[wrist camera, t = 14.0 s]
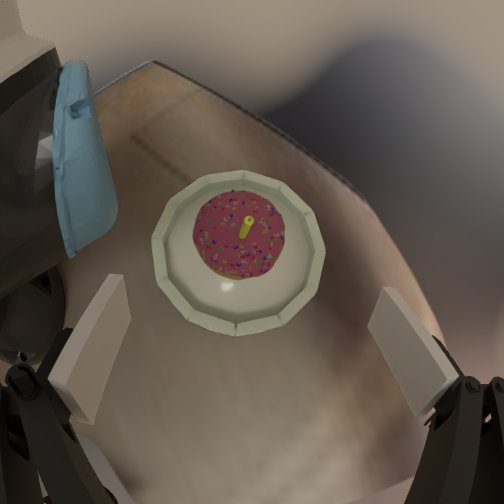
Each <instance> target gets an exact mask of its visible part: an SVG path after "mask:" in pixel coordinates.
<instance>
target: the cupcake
mask: <svg viewBox="0 0 504 504" xmlns="http://www.w3.org/2000/svg"><path fill="white" fill-rule="evenodd" d="M285 229H286V228H285V224H284V222H283V218H282V215H281V214H279V212H278V211H277V209H276V208H275V206H274V205H273V204H272V203H271V202H270V201H269V199H265V198H264V197H263V196H260V195H258V194H255V193H252V192H250V191H247V192H246V191H244V190H243V191H234V190H233V189H232V191H230V192H225V193H222V194H219V195H217V196H215V197H214V198H212V199H211V200H209V201H208V202H206V203H205V204H204V205H203V206H202V207H201V208H200V210H199V212H198V215H197V217H196V218H195V225H194V229H193V234H192V237H193V242H194V245H195V247H196V249H197V252H198V254H199V255H200V257H201V258H202V260H203V261H204V263H205V264H206V265H207V266H208V267H209V268H210V269H211V270H212V271H213V272H215V273H216V274H218V275H220V276H222V277H226V278H229V279H233V280H243V279H248V278H252V277H259V276H261V275H264V274H265V273H267V272H268V271H270V270H271V269H272V268H273V266H274V264H275V262H276V261H277V260H278V258H279V256H280V254H281V252H282V250H283V247H284V243H285Z"/></svg>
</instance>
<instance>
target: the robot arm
mask: <svg viewBox="0 0 504 504" xmlns="http://www.w3.org/2000/svg"><path fill="white" fill-rule="evenodd" d="M117 215H118V201H117V196H116V191H115V187H114V183H113V179H112V175H111V171H110V167H109V163H108V159H107V155H106V150H105V146H104V142H103V138H102V133H101V129H100V124H99V119H98V115H97V110H96V105H95V100H94V95H93V90H92V86H91V82H90V78H89V70H88V67H87V64H86V62H85V61H83V60H77V61H73V60H70V61H68V62H66V63H65V64H64V66H62V65H61V64H60V61H59V58H58V55H57V51H56V48H55V45H54V42H51V41H48V40H45V39H41V38H37V37H33V36H29V35H27V34H26V32H25V31H24V30H23V28H22V24H21V20H20V16H19V11H18V7H17V1H16V0H0V359H1V360H3V361H5V362H6V363H9V364H12V365H14V366H12V367H11V368H10V369H9V370H8V372H7V374H6V376H5V383H6V384H7V385H8V387H3V386H2V384H1V383H0V504H44V500H43V496H42V492H41V488H40V483H39V477H38V472H39V475H40V477H41V479H42V482H43V484H44V487H45V489H46V491H47V493H48V495H49V497H50V499H51V501H52V503H53V504H114V502H113V501H112V499H111V498H110V496H109V495H108V493H107V492H106V490H105V488H104V487H103V485H102V484H101V482H100V480H99V479H98V477H97V475H96V473H95V472H94V470H93V468H92V466H91V464H90V463H89V461H88V459H87V457H86V455H85V453H84V451H83V449H82V447H81V445H80V443H79V441H78V439H77V436H76V434H75V432H74V430H73V427H72V425H71V423H70V422H69V418H70V415H71V414H72V415H73V417H74V418H75V419H76V421H79V422H82V423H86V424H89V425H93V424H94V421H95V417H96V414H97V411H98V408H99V405H100V402H101V399H102V396H103V393H104V390H105V387H106V384H107V381H108V378H109V375H110V372H111V370H112V367H113V364H114V362H115V359H116V356H117V354H118V351H119V348H120V346H121V343H122V341H123V338H124V336H125V333H126V331H127V328H128V326H129V324H130V321H131V315H130V310H129V305H128V299H127V294H126V288H125V282H124V275H121V274H109V275H108V276H107V278H106V279H105V281H104V282H103V284H102V285H101V287H100V288H99V290H98V291H97V293H96V295H95V296H94V298H93V299H92V301H91V302H90V304H89V306H88V307H87V309H86V310H85V312H84V314H83V315H82V317H81V319H80V320H79V322H78V324H77V325H76V327H75V329H72V328H67V327H66V328H65V329H64V330H63V331H61V329H62V325H63V319H64V292H63V287H62V283H61V279H60V276H59V274H58V271H57V269H56V267H55V265H57V264H59V263H61V262H62V261H64V260H66V259H68V258H73V257H74V256H75V255H76V254H77V251H78V250H80V249H82V248H83V247H85V246H86V245H88V244H90V243H91V242H93V241H95V240H96V239H98V238H100V237H101V236H103V235H105V234H106V233H107V232H108V231H109V230H110V229H111V228H112V227H113V225H114V223H115V221H116V218H117ZM367 327H368V329H369V331H370V333H371V334H372V336H373V338H374V340H375V342H376V344H377V345H378V347H379V349H380V351H381V353H382V355H383V357H384V358H385V360H386V362H387V364H388V366H389V368H390V370H391V372H392V374H393V376H394V378H395V380H396V382H397V383H398V385H399V387H400V389H401V391H402V393H403V396H404V398H405V400H406V402H407V404H408V406H409V408H410V410H411V412H412V414H413V416H414V418H418V417H421V416H423V415H426V414H427V413H428V412H429V411H430V410H431V409H432V408H433V407H434V408H435V410H436V411H435V412H434V413H433V415H432V416H431V417H430V418H429V419H428V420H427V421H426V422H425V424H424V426H426V425H427V424H428V423H429V422H430V421H431V424H430V425H429V426H428V427H430V428H429V432H428V436H427V439H426V443H425V447H424V450H423V453H422V457H421V460H420V463H419V466H418V469H417V472H416V474H415V477H414V480H413V483H412V485H411V488H410V491H409V493H408V495H407V498H406V500H405V503H404V504H504V379H503V378H501V377H494V378H493V379H492V380H491V382H490V383H489V384H480V382H479V381H478V380H477V379H476V378H474V377H471V376H466V377H465V376H464V374H463V373H462V371H461V370H460V368H459V367H458V365H457V364H456V363H455V361H454V360H453V358H452V357H451V356H450V354H449V352H448V351H447V350H446V348H445V347H444V345H443V344H442V343H441V341H439V340H438V339H437V338H436V337H435V336H433V335H432V336H431V334H430V333H429V332H428V330H427V329H426V327H425V326H424V325H423V323H422V322H421V321H420V319H419V318H418V317H417V316H416V314H415V313H414V312H413V310H412V309H411V308H410V307H409V305H408V304H407V303H406V301H405V300H404V299H403V298H402V296H401V295H400V294H399V293H398V291H397V290H396V289H395V288H394V287H382V290H381V293H380V295H379V298H378V301H377V303H376V306H375V308H374V311H373V313H372V316H371V318H370V320H369V323H368V325H367ZM41 361H42V363H41V365H40V366H39V368H38V370H37V372H36V373H35V371H34V369H33V368H32V367H31V366H30V365H35V364H37V363H39V362H41ZM490 413H491V419H490V420H489V421H488V422H487V423H486V421H485V418H487V416H488V415H489V414H490ZM37 470H38V472H37Z"/></svg>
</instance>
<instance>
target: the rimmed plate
mask: <svg viewBox="0 0 504 504" xmlns="http://www.w3.org/2000/svg"><path fill="white" fill-rule="evenodd" d="M282 183H283V182H281V181H278V180H275V179H272V178H269V177H266V176H263V175H260V174H257V173H254V172H250V171H247V170H245V171H244V170H237V171H230V172H222V173H215V174H209V175H204V177H203V176H201V177H200V178H199V179H197V180H196V181H194V182H193V183H191V184H190V185H189V186H187V187H186V188H184V189H183V190H181V191H180V192H179V193H177V194H176V195H175V196H173V197H172V198H170V200H169V201H168V203H167V205H166V207H165V209H164V211H163V213H162V215H161V217H160V219H159V222H158V224H157V226H156V228H155V230H154V233H153V235H152V237H151V238H152V239H151V243H152V252H153V261H154V269H155V276H156V282H157V284H158V286H159V287H160V288H161V289H162V291H163V292H164V293H165V294H166V296H167V297H168V298H169V299H170V301H171V302H172V304H173V305H174V306H175V307H176V308H177V309H178V310H179V311H180V313H181V314H182V315H183V316H184V317H185V319H186V320H188V321H189V322H191V323H194V324H197V325H199V326H201V327H203V328H206V329H208V330H211V331H214V332H217V333H221V334H226V335H229V336H232V337H234V336H235V337H237V336H242V335H249V334H256V333H260V332H263V331H266V330H269V329H273V328H277V327H281V326H283V325H285V324H286V323H287V322H288V321H289V320H290V319H291V318H292V317H293V316H294V315H295V314H296V313H297V312H298V311H299V310H300V309H301V308H302V307H303V306H304V305H305V304H306V303H307V302H308V301H309V300H310V299H311V298H312V297H313V296H314V295H315V294H316V292H317V289H318V285H319V281H320V276H321V272H322V268H323V263H324V258H325V254H326V251H325V250H326V249H325V245H324V242H323V239H322V236H321V233H320V230H319V227H318V223H317V220H316V217H315V214H314V212H312V211H313V210H312V209H311V208H310V207H309V206H308V205H307V204H306V203H305V202H304V201H303V200H302V199H301V198H300V197H299V196H298V195H296V194H295V193H294V192H293V191H292V190H291V189H290V188H289V187H288V186H287V185H286V184H285V183H283V184H282ZM232 189H233V190H234V191H243V190H244V191H246V192H247V191H250V192H252V193H255V194H258V195H260V196H263V197H264V198H265V199H269V201H270V202H271V203H272V204H273V205H274V206H275V208H276V209H277V211H278V212H279V214H281V215H282V218H283V222H284V224H285V228H286V229H285V243H284V247H283V250H282V252H281V254H280V256H279V258H278V260H277V261H276V262H275V264H274V266H273V268H272V269H271V270H270V271H268V272H267V273H265V274H264V275H261V276H259V277H252V278H248V279H243V280H233V279H229V278H226V277H222V276H220V275H218V274H216V273H215V272H213V271H212V270H211V269H210V268H209V267H208V266H207V265H206V264H205V263H204V261H203V260H202V258H201V257H200V255H199V254H198V252H197V249H196V247H195V245H194V242H193V237H192V234H193V229H194V225H195V218H196V217H197V215H198V212H199V210H200V208H201V207H202V206H203V205H204V204H205V203H206V202H208V201H209V200H211V199H212V198H214V197H215V196H217V195H219V194H222V193H225V192H230V191H232Z"/></svg>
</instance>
